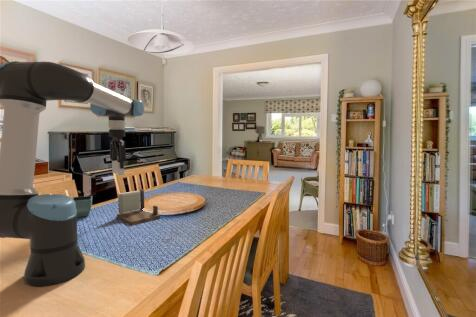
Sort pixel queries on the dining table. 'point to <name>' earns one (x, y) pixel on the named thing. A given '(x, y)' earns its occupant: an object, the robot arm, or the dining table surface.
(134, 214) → the board
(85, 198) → the flower pot
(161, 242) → the dining table surface
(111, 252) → the dining table surface
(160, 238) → the dining table surface
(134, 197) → the gate
